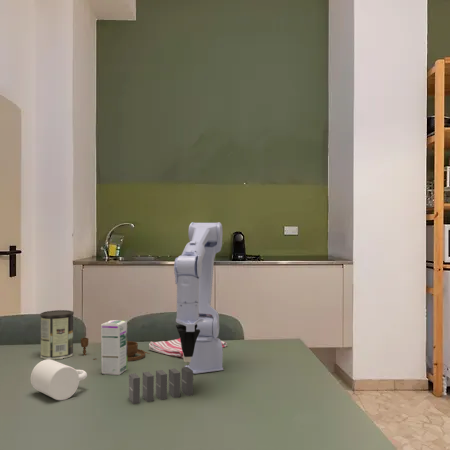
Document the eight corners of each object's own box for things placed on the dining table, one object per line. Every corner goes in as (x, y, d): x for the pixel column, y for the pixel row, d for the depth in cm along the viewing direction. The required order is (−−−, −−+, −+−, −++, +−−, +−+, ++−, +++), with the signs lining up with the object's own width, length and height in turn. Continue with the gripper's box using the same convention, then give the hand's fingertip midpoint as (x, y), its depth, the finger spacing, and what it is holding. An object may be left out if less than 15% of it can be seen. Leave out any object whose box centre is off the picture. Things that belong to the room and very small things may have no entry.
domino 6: (187, 390, 125) (187, 366, 125) (193, 395, 122) (193, 370, 122) (181, 391, 125) (181, 367, 125) (186, 396, 121) (187, 371, 121)
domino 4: (174, 392, 124) (174, 368, 124) (180, 397, 120) (180, 372, 120) (168, 393, 123) (168, 369, 123) (173, 397, 120) (174, 373, 120)
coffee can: (59, 350, 166) (59, 309, 167) (79, 354, 161) (80, 311, 161) (33, 356, 158) (33, 313, 158) (53, 361, 152) (54, 316, 152)
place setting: (117, 367, 148) (117, 348, 148) (76, 357, 160) (76, 339, 160) (158, 356, 162) (158, 338, 162) (118, 347, 174) (118, 330, 174)
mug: (48, 404, 115) (49, 370, 115) (29, 394, 122) (30, 362, 122) (93, 392, 124) (94, 360, 124) (73, 383, 130) (74, 353, 131)
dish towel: (146, 352, 167) (146, 341, 167) (194, 340, 184) (194, 331, 185) (181, 360, 156) (181, 350, 156) (228, 348, 173) (228, 338, 173)
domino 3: (161, 394, 122) (162, 370, 123) (167, 398, 119) (167, 374, 119) (155, 394, 122) (155, 370, 122) (160, 399, 118) (160, 375, 118)
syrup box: (119, 375, 138) (120, 323, 138) (100, 374, 139) (100, 323, 139) (127, 369, 144) (128, 320, 144) (109, 368, 145) (109, 319, 145)
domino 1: (135, 397, 120) (135, 373, 120) (139, 403, 116) (139, 377, 116) (128, 398, 119) (129, 374, 119) (133, 404, 115) (133, 378, 115)
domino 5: (184, 362, 124) (184, 338, 124) (183, 358, 128) (183, 335, 128) (190, 362, 124) (190, 338, 125) (189, 358, 128) (189, 335, 129)
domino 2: (148, 395, 121) (148, 371, 121) (153, 400, 117) (153, 375, 117) (142, 396, 120) (142, 372, 120) (147, 401, 117) (147, 376, 117)
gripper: (206, 305, 120) (206, 361, 120) (199, 297, 134) (199, 347, 134) (178, 306, 119) (177, 362, 119) (174, 298, 133) (173, 348, 133)
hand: (187, 354), depth 126 cm, fingers closed on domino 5, 4 cm apart
